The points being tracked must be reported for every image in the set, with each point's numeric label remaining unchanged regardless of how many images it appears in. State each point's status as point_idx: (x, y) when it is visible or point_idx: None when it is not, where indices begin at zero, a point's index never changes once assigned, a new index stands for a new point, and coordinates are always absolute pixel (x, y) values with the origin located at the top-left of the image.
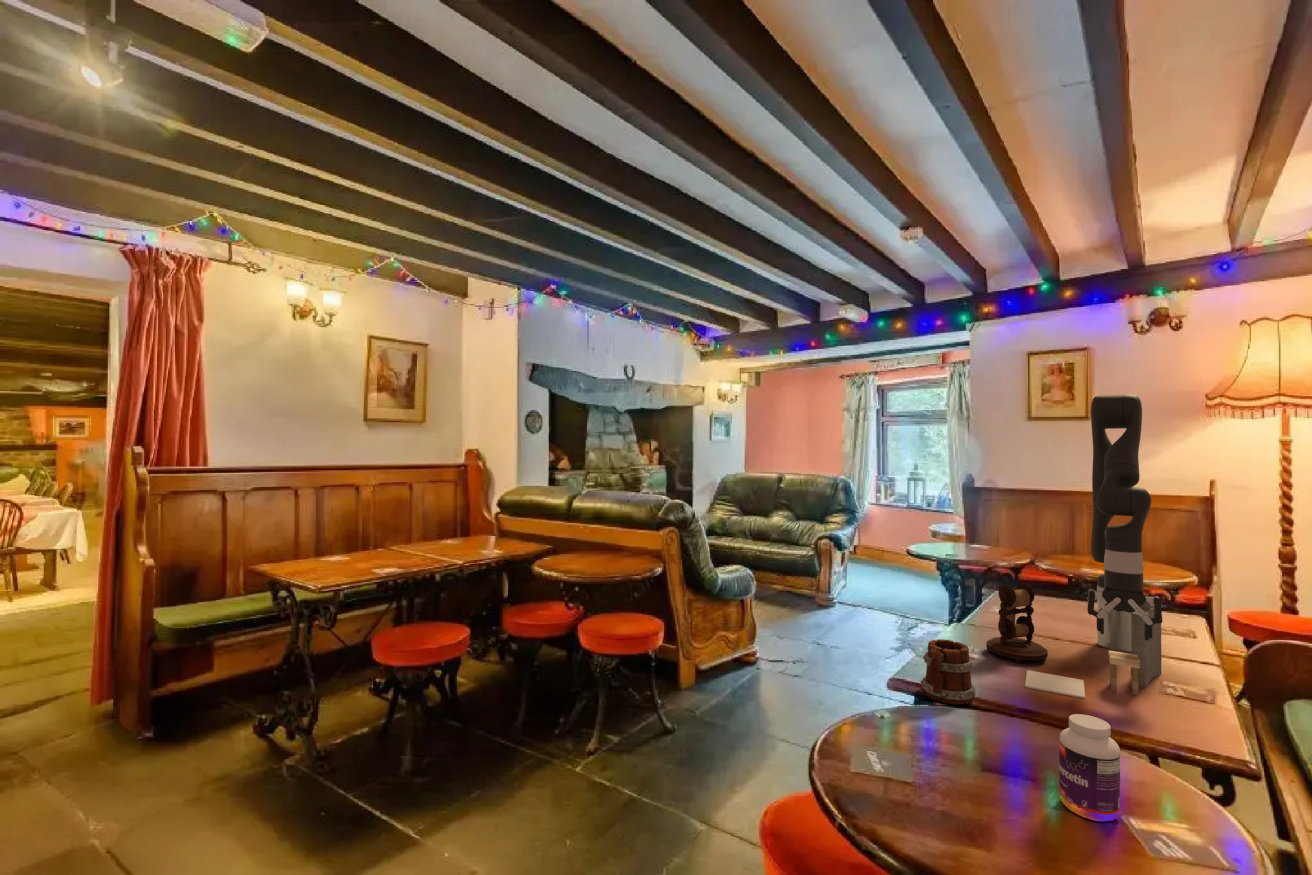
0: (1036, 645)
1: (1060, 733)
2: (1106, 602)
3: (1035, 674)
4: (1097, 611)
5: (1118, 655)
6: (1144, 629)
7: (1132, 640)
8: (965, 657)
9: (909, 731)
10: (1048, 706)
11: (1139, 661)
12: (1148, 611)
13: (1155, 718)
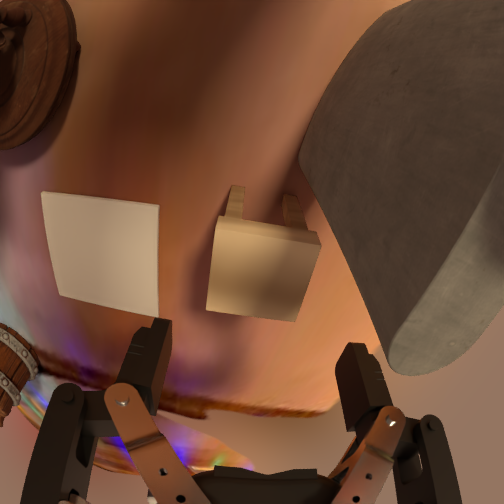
0: (36, 46)
1: (147, 499)
2: (148, 487)
3: (58, 217)
4: (111, 427)
5: (240, 281)
6: (353, 389)
7: (332, 227)
8: (10, 408)
9: (43, 409)
10: (110, 357)
11: (294, 320)
12: None
13: (270, 355)
